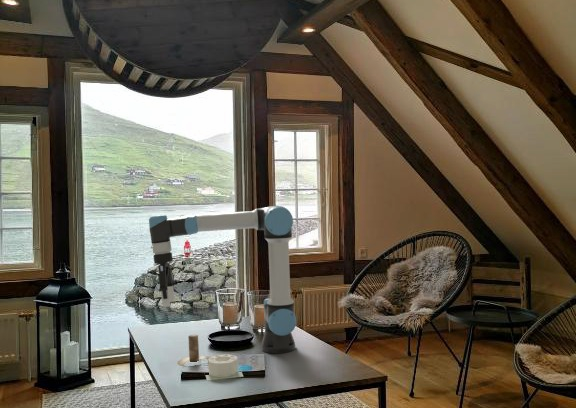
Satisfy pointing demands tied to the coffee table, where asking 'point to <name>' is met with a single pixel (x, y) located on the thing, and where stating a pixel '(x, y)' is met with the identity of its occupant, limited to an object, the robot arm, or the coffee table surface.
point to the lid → (192, 351)
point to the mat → (239, 374)
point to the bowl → (222, 365)
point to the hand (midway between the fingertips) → (169, 304)
